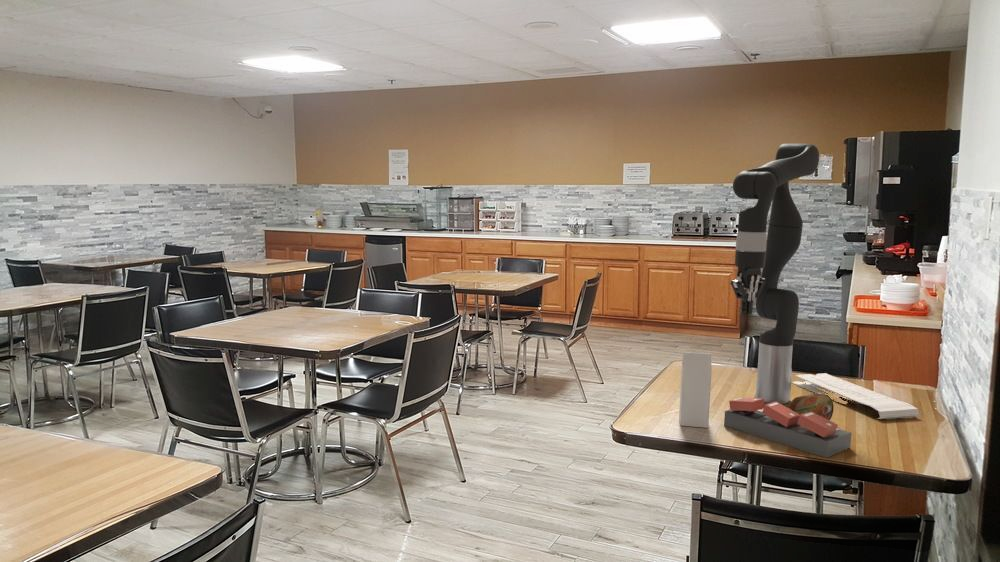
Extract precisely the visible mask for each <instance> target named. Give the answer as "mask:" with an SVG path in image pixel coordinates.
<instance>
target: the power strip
mask: <svg viewBox="0 0 1000 562" xmlns="http://www.w3.org/2000/svg"><path fill="white" fill-rule="evenodd" d="M763 409H764V408H763ZM763 409H760V410H756V411H740V410H730V409H727V410H724V421H723V426H725V427H728V428H730V429H733V430H735V431H736V430H737V431H739V432H743V433H746V434H750V435H752V436H756V437H759V438H762V439H765V440H768V441H771V442H775V443H778V444H781V445H784V446H787V447H790V448H794V449H797V450H799V451H803V452H807V453H808V454H809V453H810V454H812V455H816V456H818V455H819V457H821V456H822V457H821V458H825V459H827V458H830V456H831V457H833V456H835V454H836V455H838V454H840V453H842V452H841V451H843V452H845V451H847V450H846V449H848V448H850V449H851V441H852V432H851V431H849V430H848V431H847V430H844V429H840V428H838V427H837V429H836V432H835V434H832V435H830V436H827V437H822V436H820V435H818V434H816V433H814V432H812V431H810V430H808V429H806V428H804V427H803V426H801V425H799V424H794V425H791V426H788V427H785V426H784V425H782V424H780V423H778V422H777V421H775V420H773V419H772V418H770V417H768V416H766V415H765V414H763V413H762V412H763ZM844 450H845V451H844ZM848 450H849V449H848ZM839 452H840V453H839ZM837 453H838V454H837ZM832 455H833V456H832Z"/></svg>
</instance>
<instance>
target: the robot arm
mask: <svg viewBox="0 0 1000 562" xmlns="http://www.w3.org/2000/svg"><path fill="white" fill-rule="evenodd" d="M819 163H820V152H819V149H818V147H817V146H816V145H814V144H811V143H782V144H781V145H779V147H777V150H776V153H775V158H774V160H772V161H769V162H767V163H765V164H763V165H761V166H760V167H757V168H756V167H755V168H750V169H747V170H746V169H745V170H743V171H741V172H739V173H738V174H737V175H736V176H735V178H734V180H733V183H732V190H733V192H734V194H735V196H736V197H737V198H739V199H743V200H757V202H756V204H755V205H754V206H753V207H748V208H743V209H741V210H739V213H738V222H737V223H738V224H737V233H736V239H735V240H736V241H735V255H734V267H736V268H738V270H737V273H736V278H735V280H733V279H732V280H731V281H730V285H731V287H732V290H733V293H734V294H735V296H736V299H740V300H741V314H742V315H745V316H750V315H752V314H753V307H754V302H755V311H756V315H757V316H759V317H760V318H762V319H767V320H772V321H776V324H775V327H774V328H771V329H769V330H763V331H761V332H760V334H759V342H758V359H757V361H758V362H757V372H756V387H755V398H761V399H764V403H765V404H769V403H772V402H778V403H780V404H782V405H784V404H785V405H786V404H788V403H789V402H790V400H791V388H792V383H791V382H792V377H793V376H792V375H793V374H792V373H793V369H792V361H793V360H792V359H793V347H794V339H795V336H796V332H797V324H798V316H799V315H798V314H799V308H800V303H799V302H800V300H799V296H798V294H797V293H796V292H795V291H793V290H790V289H784V288H783V289H782V288H778V283H779V280H780V276H781V273H782V271H783V270H784V268H785V266H786V265H787V264H788V263H789V261H790V260H791V259H792V258H793V256H794V255H795V254H796V253H797V250H798V249H799V248H800V245H801V242H802V241H801V240H802V234H803V233H802V232H803V227H804V223H803V218H802V216H801V214H800V211H799V210H798V208H797V205H796V204H795V202H794V200H793V198H792V195H791V192H790V186H789V185H790V184H789V183H790V181H793V180H796V179H799V178H802V177H807V176H808V177H809V176H812V175H813V174H814V173H815V172H816V171H817V169H818V167H819ZM769 212H770V213H769ZM768 215H770V216H768ZM768 217H769V220H768ZM768 221H769V222H768ZM767 222H768V223H767ZM767 227H768V228H767ZM761 269H762V271H761Z"/></svg>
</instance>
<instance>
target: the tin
mask: <svg viewBox="0 0 1000 562" xmlns="http://www.w3.org/2000/svg"><path fill="white" fill-rule="evenodd" d="M787 408H789V409H791V410H793V411H794V412H796V413H798V414H800V415H801V414H804V413H807V412H810V411H811V412H813V413H815V414H818V415H820V416H822V417H824V418H826V419H828V420H830V421H831V419H832V417H833V414H834V401H832V399H831V398H830V397H829V396H828V395H825V394H818V393H812V394H807V395H802V396H801V395H800V396H797V397H794V398H793V399H792V400H791V401H790V403H789V404H788V407H787Z"/></svg>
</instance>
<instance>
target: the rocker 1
mask: <svg viewBox="0 0 1000 562" xmlns="http://www.w3.org/2000/svg"><path fill="white" fill-rule="evenodd" d="M728 402H729V410H740V411H756V410H760V409H763V408H764V406H765V404H766V403H765V402H764V399H761V398H756V397H738V398H735V399H731V400H729V401H728Z"/></svg>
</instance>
